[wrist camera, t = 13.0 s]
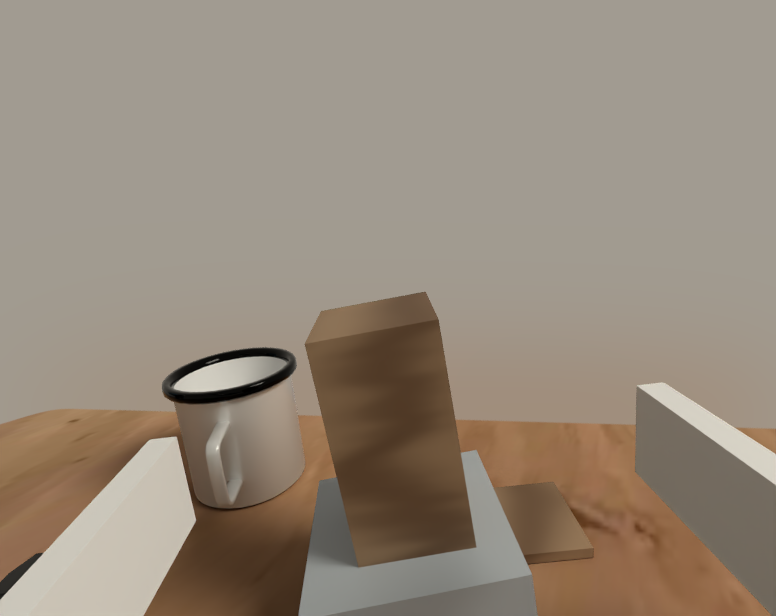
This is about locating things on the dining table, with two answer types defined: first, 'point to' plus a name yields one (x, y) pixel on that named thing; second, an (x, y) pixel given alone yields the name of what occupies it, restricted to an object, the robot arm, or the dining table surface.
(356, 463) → the walnut block
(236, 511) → the dining table surface
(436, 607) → the grey block
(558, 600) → the dining table surface
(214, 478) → the mug
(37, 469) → the dining table surface
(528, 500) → the walnut tile
